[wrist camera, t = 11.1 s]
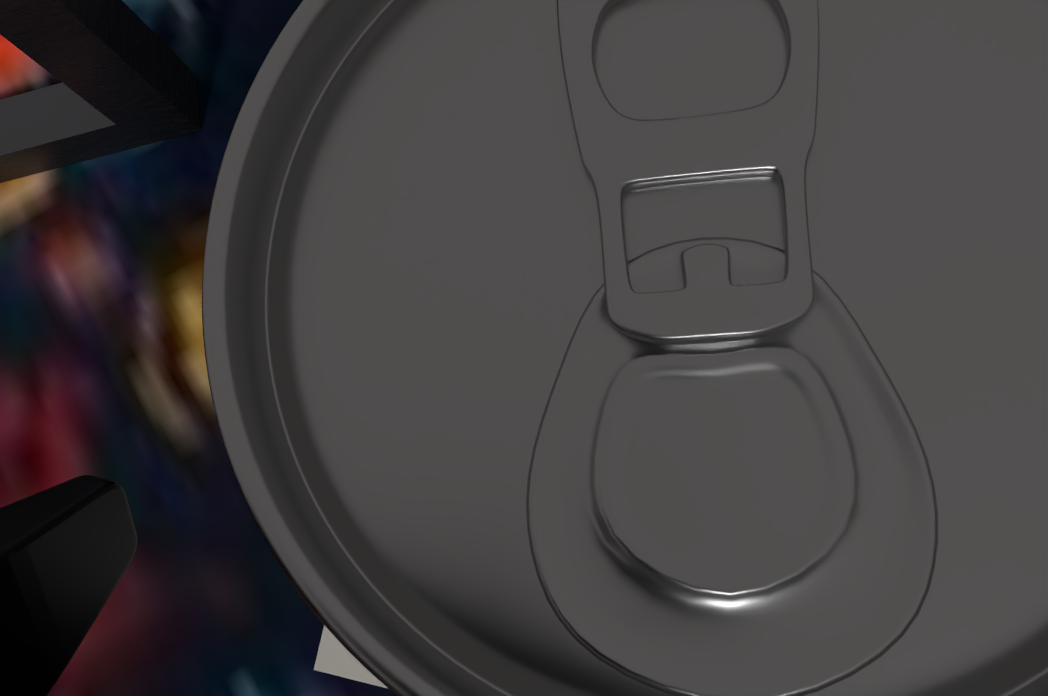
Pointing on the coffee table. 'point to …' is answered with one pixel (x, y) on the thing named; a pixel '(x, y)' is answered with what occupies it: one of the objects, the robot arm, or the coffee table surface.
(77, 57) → the dark grey square frame
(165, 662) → the coffee table surface
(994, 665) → the can
